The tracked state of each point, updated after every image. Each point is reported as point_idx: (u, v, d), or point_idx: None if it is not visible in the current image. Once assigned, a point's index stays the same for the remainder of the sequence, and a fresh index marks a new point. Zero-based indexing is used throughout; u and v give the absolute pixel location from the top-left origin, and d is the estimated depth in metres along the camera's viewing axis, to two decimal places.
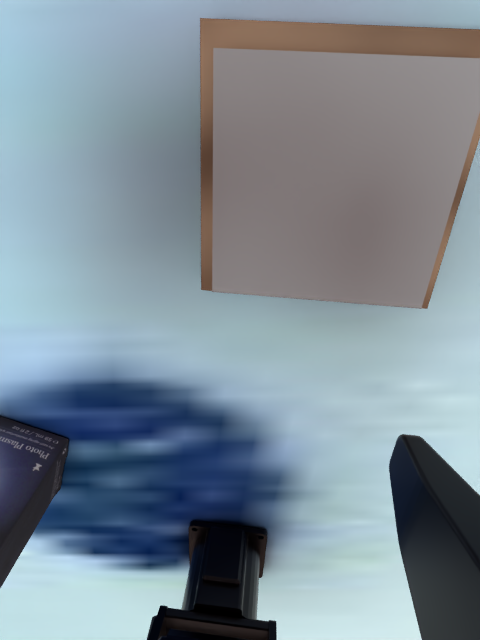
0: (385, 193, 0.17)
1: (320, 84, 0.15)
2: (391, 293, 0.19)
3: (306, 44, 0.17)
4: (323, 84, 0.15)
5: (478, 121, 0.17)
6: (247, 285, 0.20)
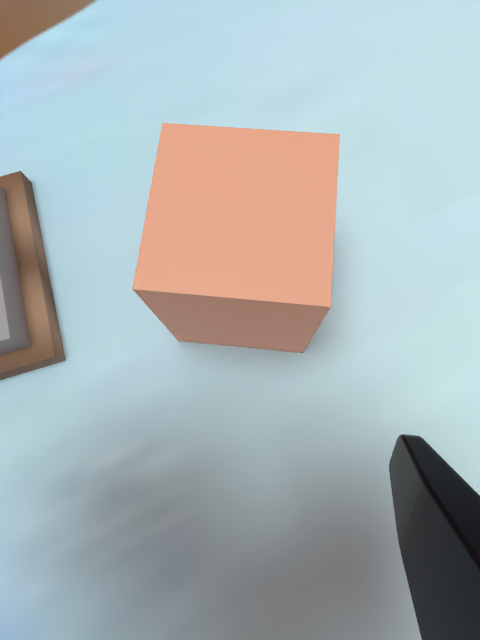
0: None
1: None
2: None
3: None
4: None
5: (25, 216, 0.24)
6: None
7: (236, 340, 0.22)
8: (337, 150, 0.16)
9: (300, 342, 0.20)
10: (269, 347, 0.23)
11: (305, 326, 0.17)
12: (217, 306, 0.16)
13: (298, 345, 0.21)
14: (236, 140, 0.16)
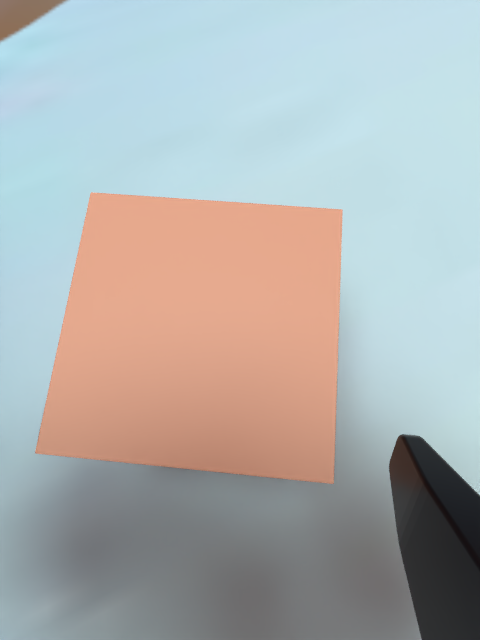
0: None
1: None
2: None
3: None
4: None
5: None
6: None
7: None
8: (339, 234, 0.11)
9: None
10: None
11: None
12: None
13: None
14: (195, 218, 0.11)
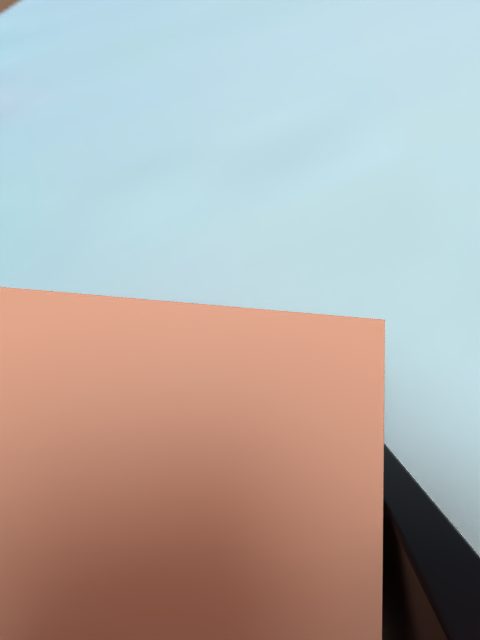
0: None
1: None
2: None
3: None
4: None
5: None
6: None
7: None
8: (381, 362, 0.07)
9: None
10: None
11: None
12: None
13: None
14: (152, 331, 0.07)
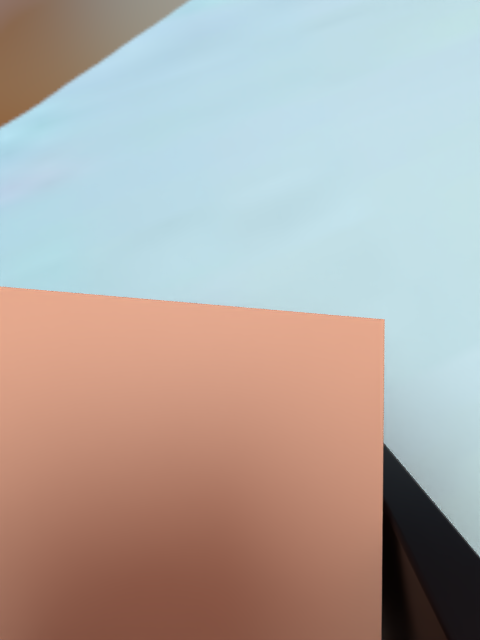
0: None
1: None
2: None
3: None
4: None
5: None
6: None
7: None
8: (381, 362, 0.07)
9: None
10: None
11: None
12: None
13: None
14: (152, 331, 0.07)
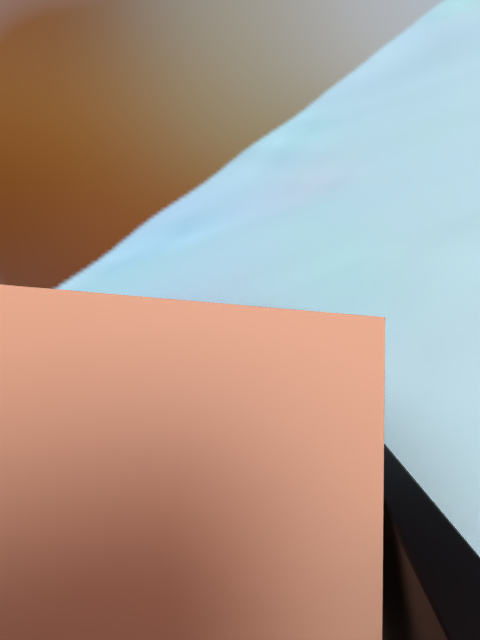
0: None
1: None
2: None
3: None
4: None
5: None
6: None
7: None
8: (381, 359, 0.07)
9: None
10: None
11: None
12: None
13: None
14: (153, 329, 0.07)
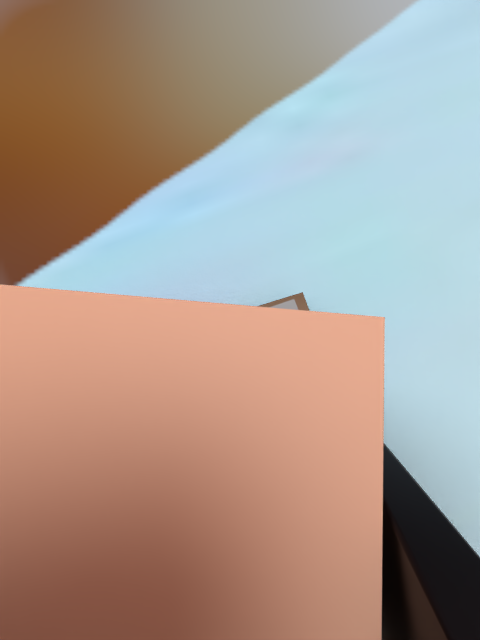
0: None
1: None
2: None
3: None
4: None
5: None
6: None
7: None
8: (381, 359, 0.07)
9: None
10: None
11: None
12: None
13: None
14: (152, 329, 0.07)
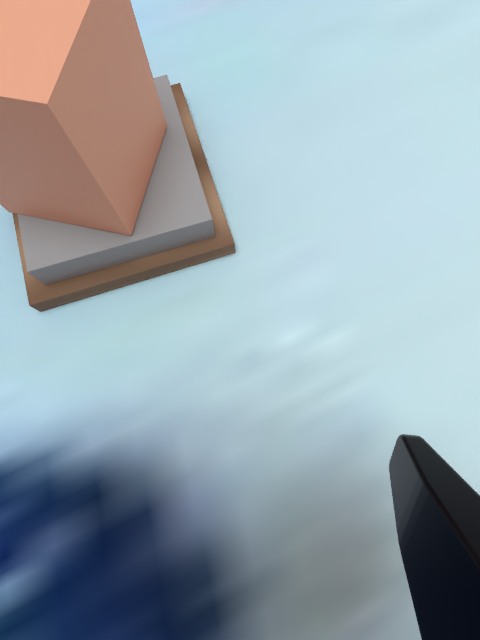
0: None
1: None
2: (181, 216, 0.22)
3: None
4: None
5: (189, 122, 0.26)
6: (57, 254, 0.22)
7: (52, 206, 0.20)
8: None
9: (106, 207, 0.19)
10: (93, 223, 0.21)
11: (73, 162, 0.16)
12: None
13: (111, 215, 0.20)
14: None
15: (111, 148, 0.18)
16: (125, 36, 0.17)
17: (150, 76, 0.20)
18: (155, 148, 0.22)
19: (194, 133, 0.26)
